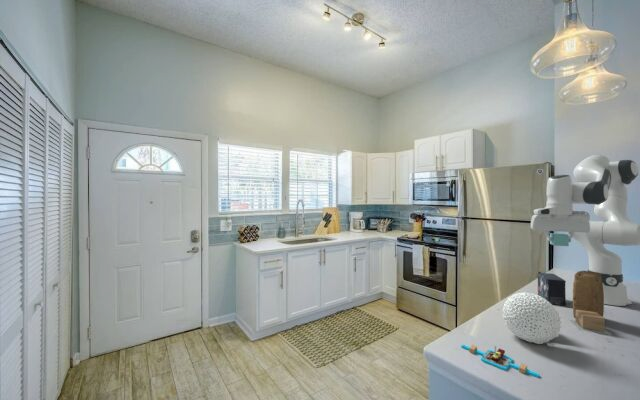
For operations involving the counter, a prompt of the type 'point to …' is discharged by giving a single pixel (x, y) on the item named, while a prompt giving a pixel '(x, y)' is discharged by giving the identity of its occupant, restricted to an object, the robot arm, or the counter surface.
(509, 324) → the white coral
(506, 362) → the gear mechanism
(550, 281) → the small box
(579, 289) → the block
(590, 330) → the square tile
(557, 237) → the teal cube
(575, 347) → the counter surface
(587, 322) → the walnut base block
